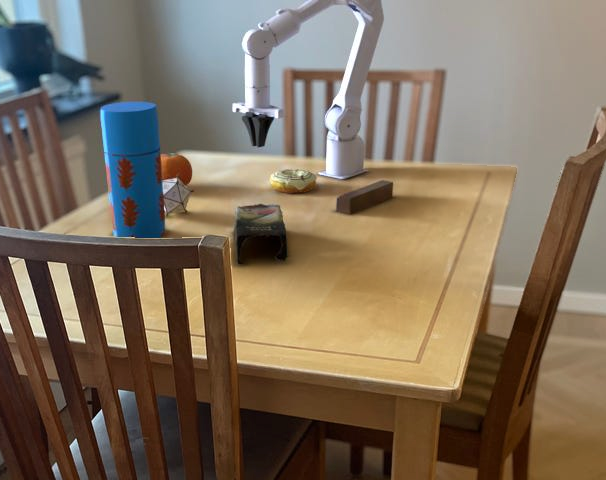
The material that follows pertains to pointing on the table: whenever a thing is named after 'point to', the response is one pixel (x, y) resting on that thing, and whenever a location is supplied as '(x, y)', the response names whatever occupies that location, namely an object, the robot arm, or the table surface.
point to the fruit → (176, 167)
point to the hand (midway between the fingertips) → (258, 146)
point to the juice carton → (259, 226)
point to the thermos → (133, 169)
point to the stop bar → (364, 197)
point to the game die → (175, 195)
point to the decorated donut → (293, 180)
